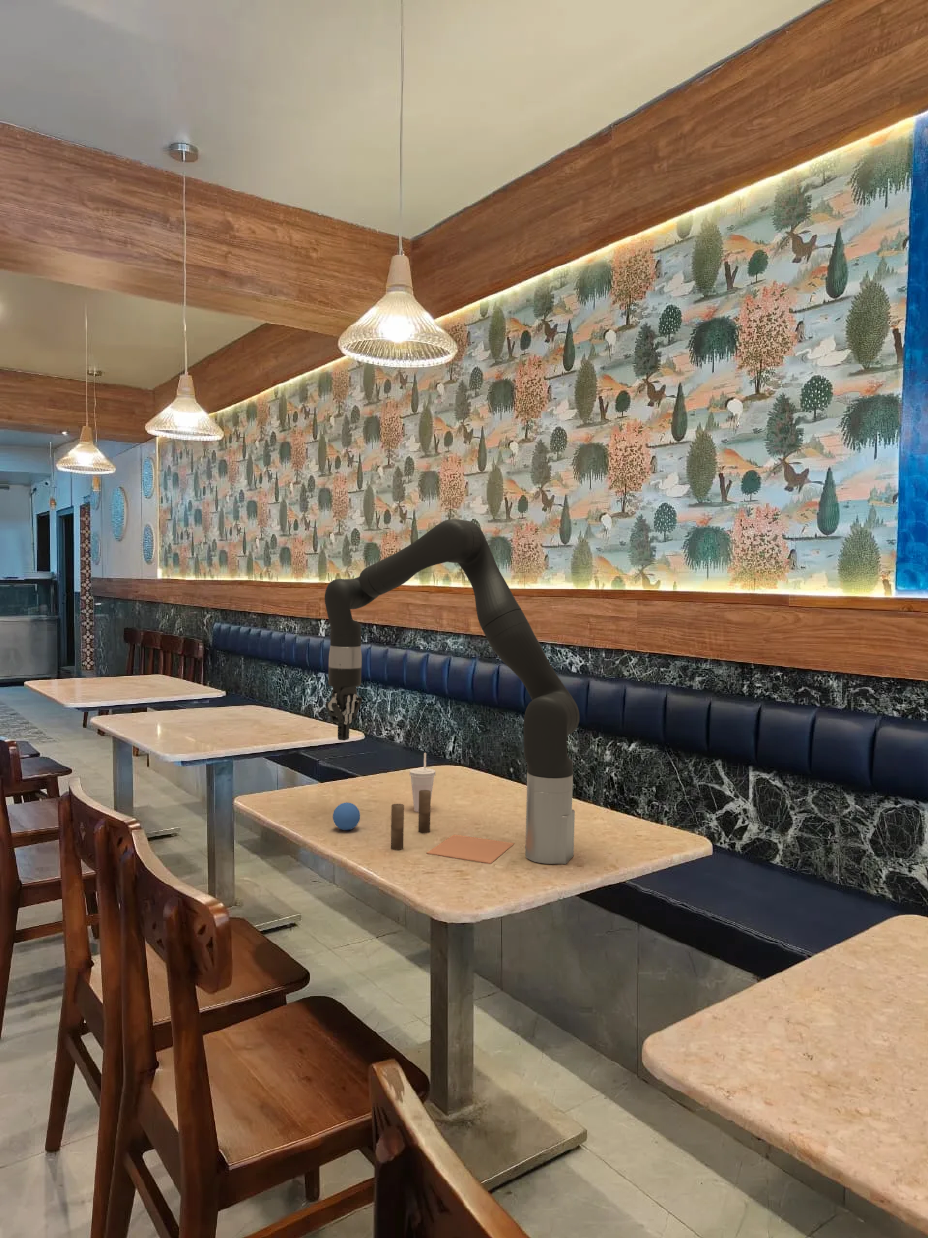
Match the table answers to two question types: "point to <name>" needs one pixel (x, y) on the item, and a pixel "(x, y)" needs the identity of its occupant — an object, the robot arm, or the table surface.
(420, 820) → the right post
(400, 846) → the left post
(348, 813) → the ball
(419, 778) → the smoothie
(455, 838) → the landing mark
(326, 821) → the table surface
